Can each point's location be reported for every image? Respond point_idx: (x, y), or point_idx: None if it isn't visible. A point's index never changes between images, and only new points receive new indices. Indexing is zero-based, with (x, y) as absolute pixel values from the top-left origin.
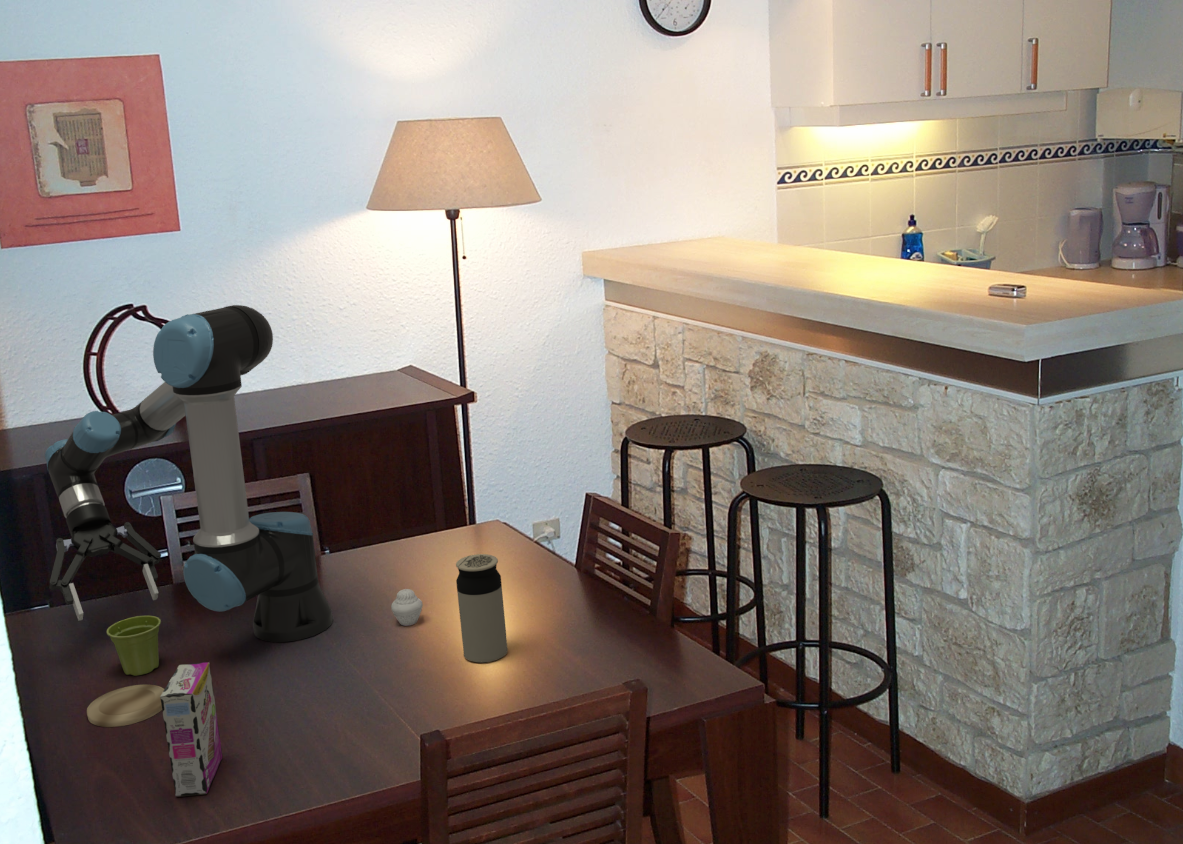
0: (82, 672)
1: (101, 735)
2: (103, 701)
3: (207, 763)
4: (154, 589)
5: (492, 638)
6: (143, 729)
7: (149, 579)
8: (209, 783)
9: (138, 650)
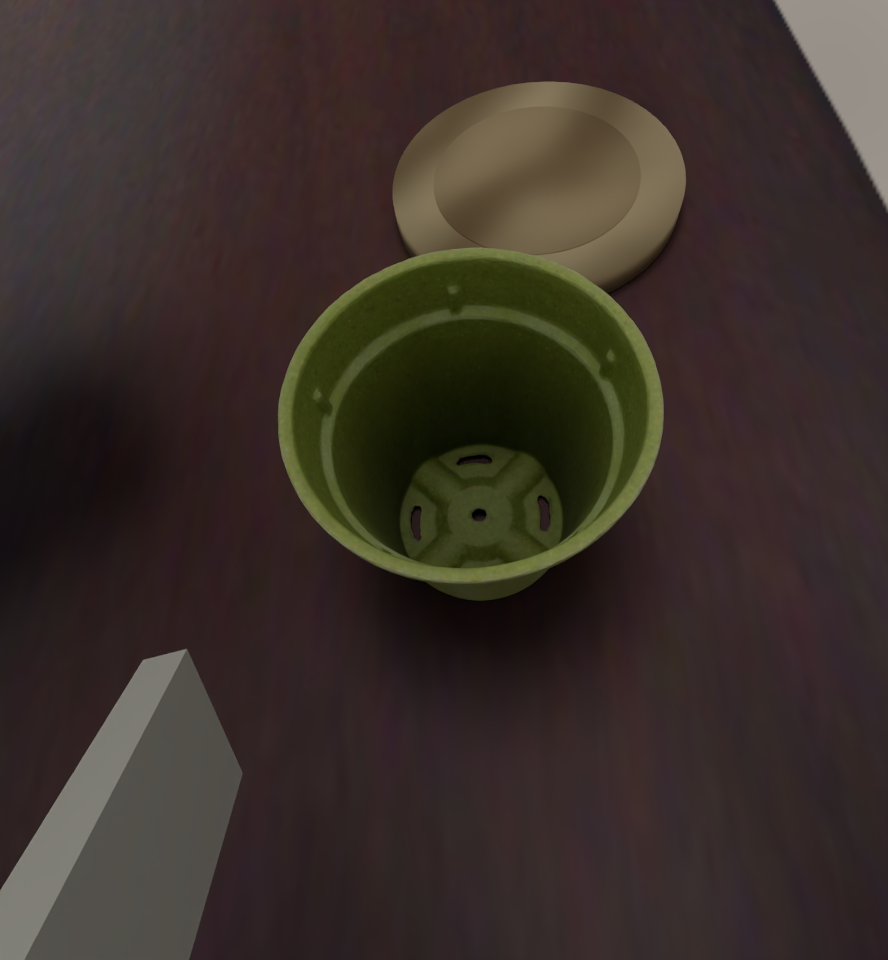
0: (800, 638)
1: (613, 77)
2: (627, 206)
3: None
4: (153, 688)
5: None
6: (486, 72)
7: (102, 800)
8: None
9: (467, 352)
